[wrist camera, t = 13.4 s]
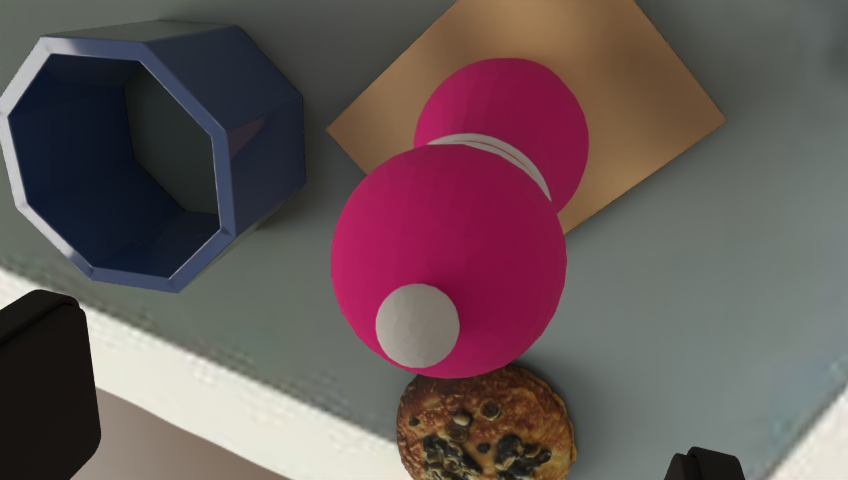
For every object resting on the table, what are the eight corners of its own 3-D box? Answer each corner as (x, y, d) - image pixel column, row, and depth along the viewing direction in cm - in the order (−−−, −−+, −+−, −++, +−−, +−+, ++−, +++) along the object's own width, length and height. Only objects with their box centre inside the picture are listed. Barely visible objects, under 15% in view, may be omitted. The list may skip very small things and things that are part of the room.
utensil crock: (191, -28, 33) (80, -25, 25) (346, 145, 34) (283, 192, 27) (80, 118, 37) (-40, 155, 30) (220, 263, 39) (139, 329, 32)
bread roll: (453, 315, 36) (444, 374, 32) (612, 402, 38) (624, 469, 34) (366, 429, 42) (348, 492, 38) (509, 501, 43) (508, 570, 39)
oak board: (558, -96, 28) (557, -99, 27) (723, 115, 29) (728, 121, 28) (332, 124, 34) (324, 129, 33) (479, 287, 36) (475, 297, 35)
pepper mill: (604, 58, 29) (638, 215, 11) (570, 208, 32) (552, 525, 14) (447, 35, 30) (238, 141, 12) (428, 181, 33) (240, 443, 15)
